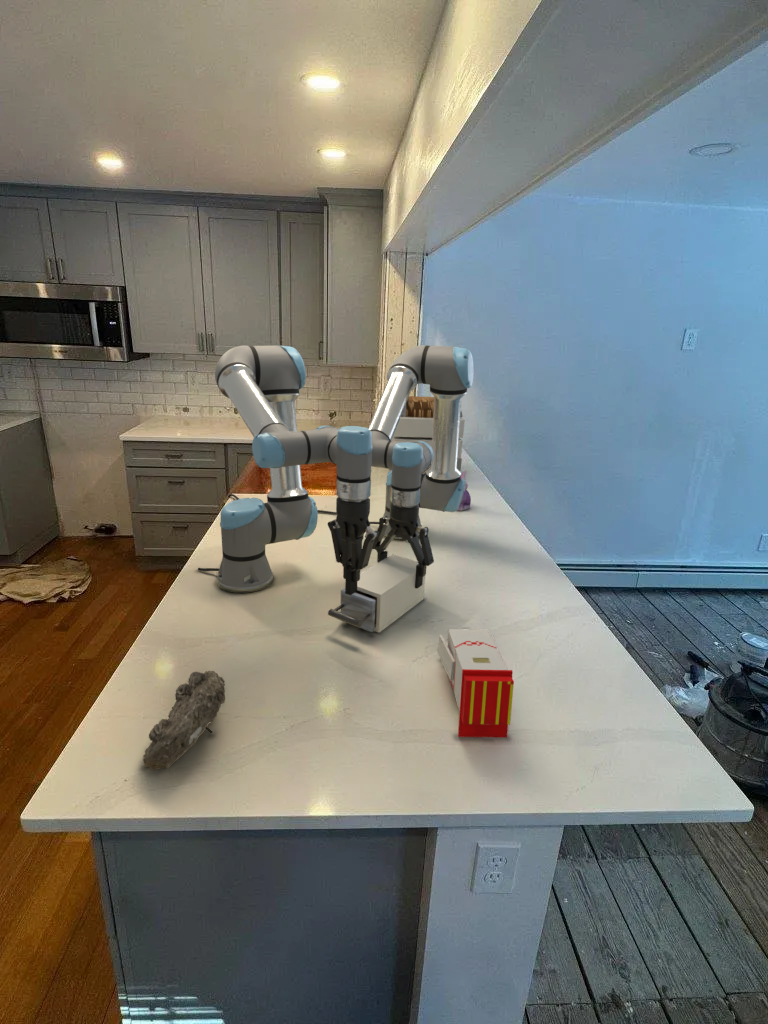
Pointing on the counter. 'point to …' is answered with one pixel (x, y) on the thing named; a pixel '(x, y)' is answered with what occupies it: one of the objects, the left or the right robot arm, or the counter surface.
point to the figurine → (464, 496)
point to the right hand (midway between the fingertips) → (400, 580)
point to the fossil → (185, 719)
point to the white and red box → (478, 682)
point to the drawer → (357, 610)
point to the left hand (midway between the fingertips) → (351, 592)
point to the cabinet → (391, 588)
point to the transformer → (421, 424)
